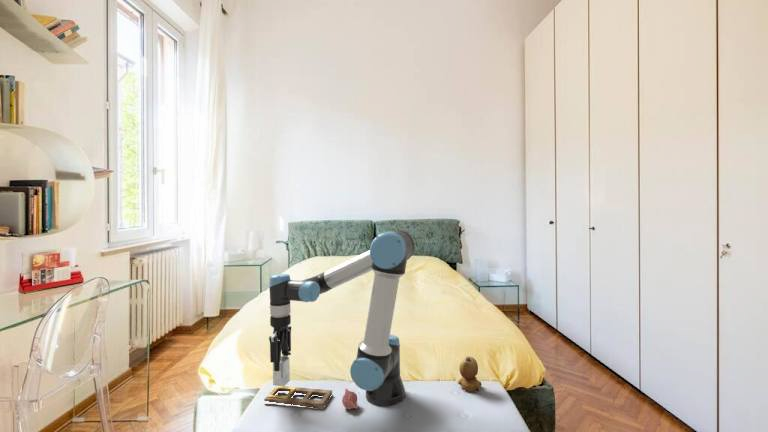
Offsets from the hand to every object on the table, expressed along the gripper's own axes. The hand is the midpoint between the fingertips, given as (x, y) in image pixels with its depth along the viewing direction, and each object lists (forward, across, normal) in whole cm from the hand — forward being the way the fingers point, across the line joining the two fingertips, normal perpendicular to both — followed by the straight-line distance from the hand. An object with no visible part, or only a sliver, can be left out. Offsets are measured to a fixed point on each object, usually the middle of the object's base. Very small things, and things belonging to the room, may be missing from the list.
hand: (281, 375), depth 135 cm
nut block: (+3, 0, 0) cm, 3 cm away
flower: (+9, +2, +28) cm, 29 cm away
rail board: (+9, 0, +7) cm, 11 cm away
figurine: (+9, -18, +71) cm, 74 cm away
